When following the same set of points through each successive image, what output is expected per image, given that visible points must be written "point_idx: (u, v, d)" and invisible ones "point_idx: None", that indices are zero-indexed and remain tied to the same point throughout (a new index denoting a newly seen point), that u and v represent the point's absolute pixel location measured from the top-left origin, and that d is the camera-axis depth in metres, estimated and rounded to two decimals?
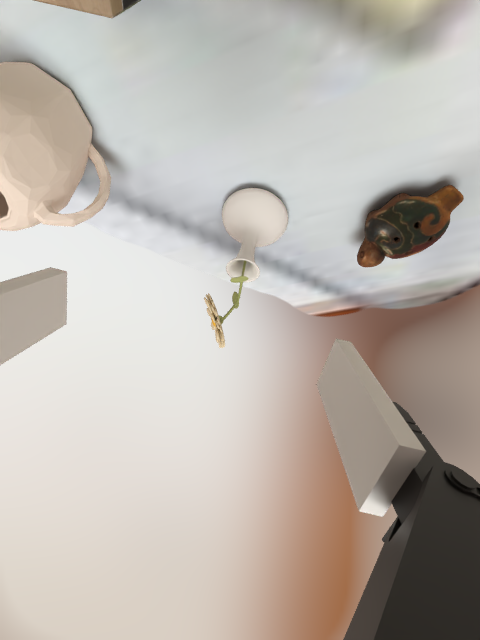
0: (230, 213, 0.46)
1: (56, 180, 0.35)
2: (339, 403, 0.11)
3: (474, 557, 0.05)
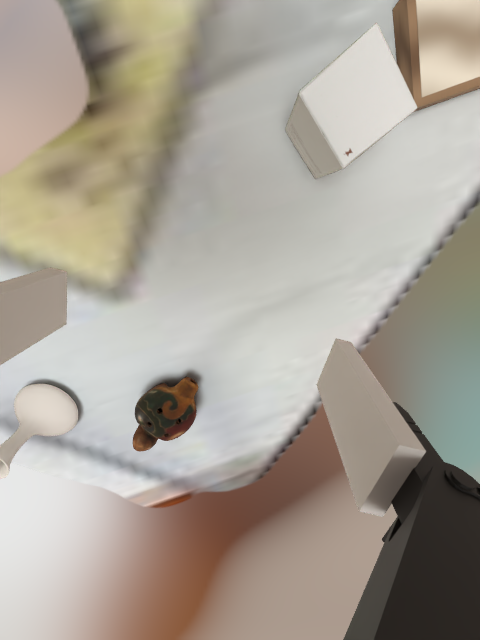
0: (16, 406, 0.50)
1: None
2: (339, 403, 0.11)
3: (474, 557, 0.05)
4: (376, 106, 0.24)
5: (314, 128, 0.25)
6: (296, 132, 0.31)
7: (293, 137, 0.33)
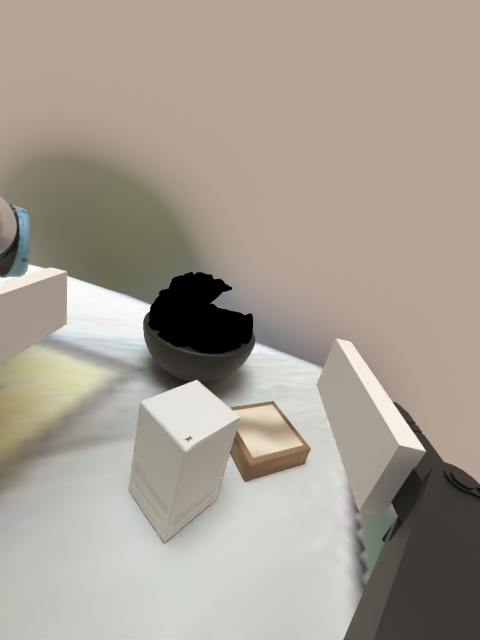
0: None
1: None
2: (339, 402, 0.11)
3: (474, 557, 0.05)
4: (207, 412, 0.28)
5: (154, 429, 0.26)
6: (139, 468, 0.29)
7: (136, 486, 0.30)
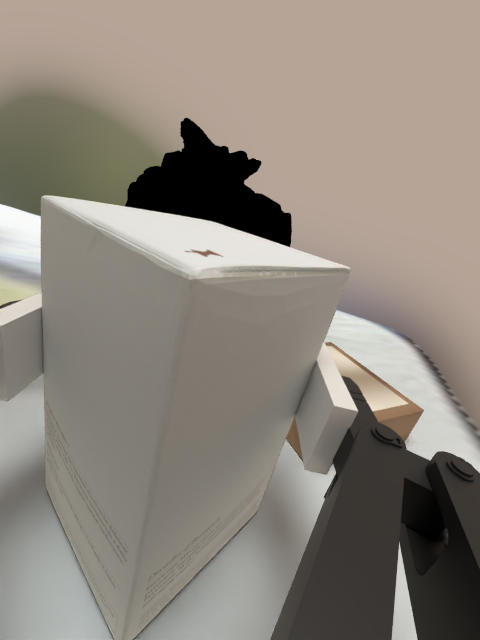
0: None
1: None
2: None
3: (392, 497, 0.06)
4: (258, 242, 0.09)
5: (74, 259, 0.07)
6: (55, 424, 0.10)
7: (55, 476, 0.11)
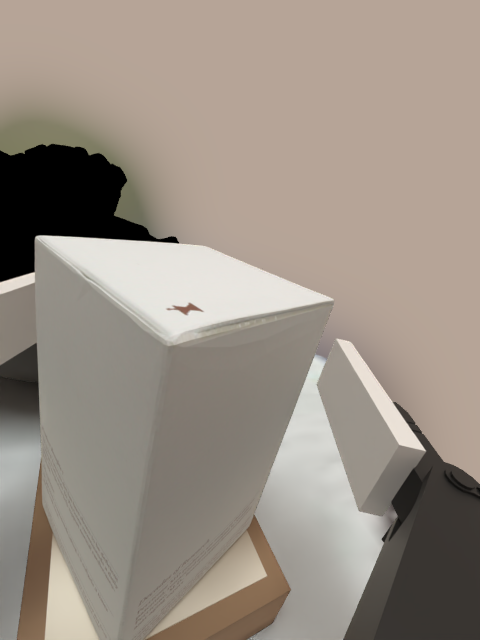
0: None
1: None
2: (339, 402, 0.11)
3: (474, 557, 0.05)
4: (244, 278, 0.09)
5: (66, 303, 0.07)
6: (50, 450, 0.10)
7: (51, 497, 0.11)
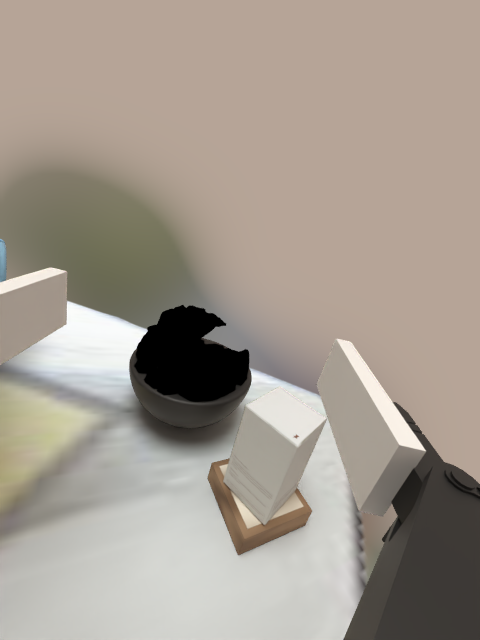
0: None
1: None
2: (339, 403, 0.11)
3: (474, 557, 0.05)
4: (301, 414, 0.33)
5: (261, 428, 0.31)
6: (239, 462, 0.34)
7: (234, 478, 0.35)
